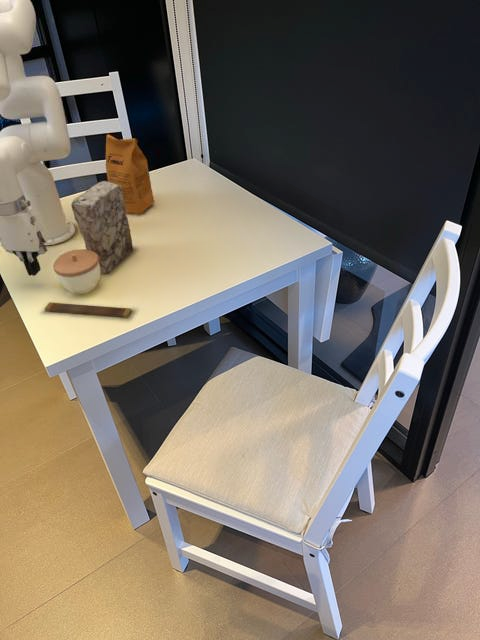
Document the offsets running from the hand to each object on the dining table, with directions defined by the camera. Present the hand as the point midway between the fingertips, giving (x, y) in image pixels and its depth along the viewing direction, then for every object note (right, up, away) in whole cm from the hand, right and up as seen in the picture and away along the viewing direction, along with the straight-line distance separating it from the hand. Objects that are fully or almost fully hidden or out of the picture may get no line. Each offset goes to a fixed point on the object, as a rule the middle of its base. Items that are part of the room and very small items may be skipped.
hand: (34, 272), depth 129 cm
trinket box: (+12, -4, +1) cm, 12 cm away
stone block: (+17, +4, +10) cm, 20 cm away
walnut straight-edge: (+15, -10, -7) cm, 20 cm away
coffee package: (+18, +24, +34) cm, 45 cm away
